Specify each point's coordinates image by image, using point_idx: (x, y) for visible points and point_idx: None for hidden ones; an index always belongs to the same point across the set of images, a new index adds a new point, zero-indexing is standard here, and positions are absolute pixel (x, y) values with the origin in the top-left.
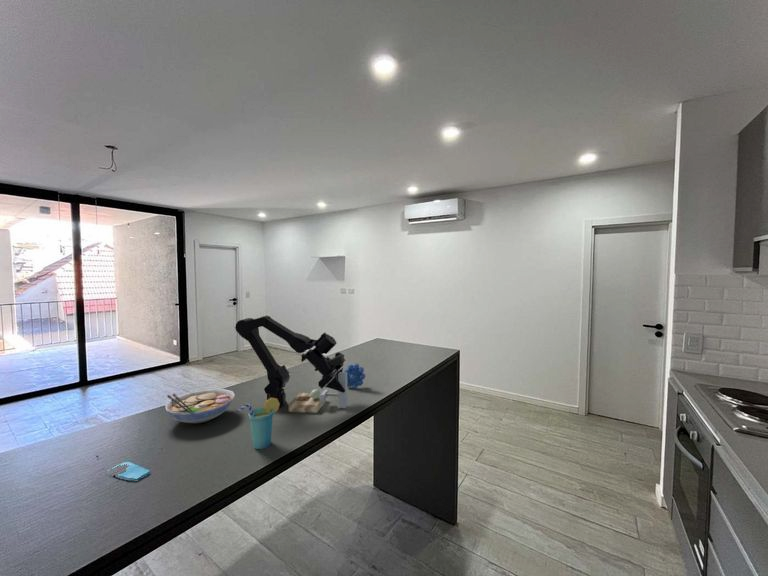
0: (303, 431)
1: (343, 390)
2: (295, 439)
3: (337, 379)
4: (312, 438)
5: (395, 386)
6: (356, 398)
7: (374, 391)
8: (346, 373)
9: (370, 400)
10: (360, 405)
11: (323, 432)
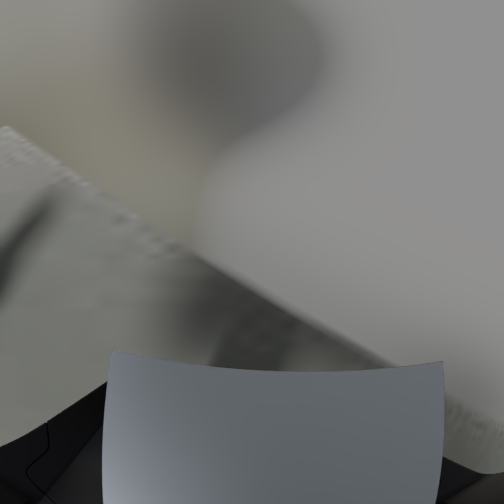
0: None
1: None
2: (493, 465)
3: (448, 501)
4: (492, 421)
5: (14, 156)
6: (72, 331)
7: (16, 229)
8: (271, 373)
9: (116, 246)
10: (185, 303)
11: (470, 409)
